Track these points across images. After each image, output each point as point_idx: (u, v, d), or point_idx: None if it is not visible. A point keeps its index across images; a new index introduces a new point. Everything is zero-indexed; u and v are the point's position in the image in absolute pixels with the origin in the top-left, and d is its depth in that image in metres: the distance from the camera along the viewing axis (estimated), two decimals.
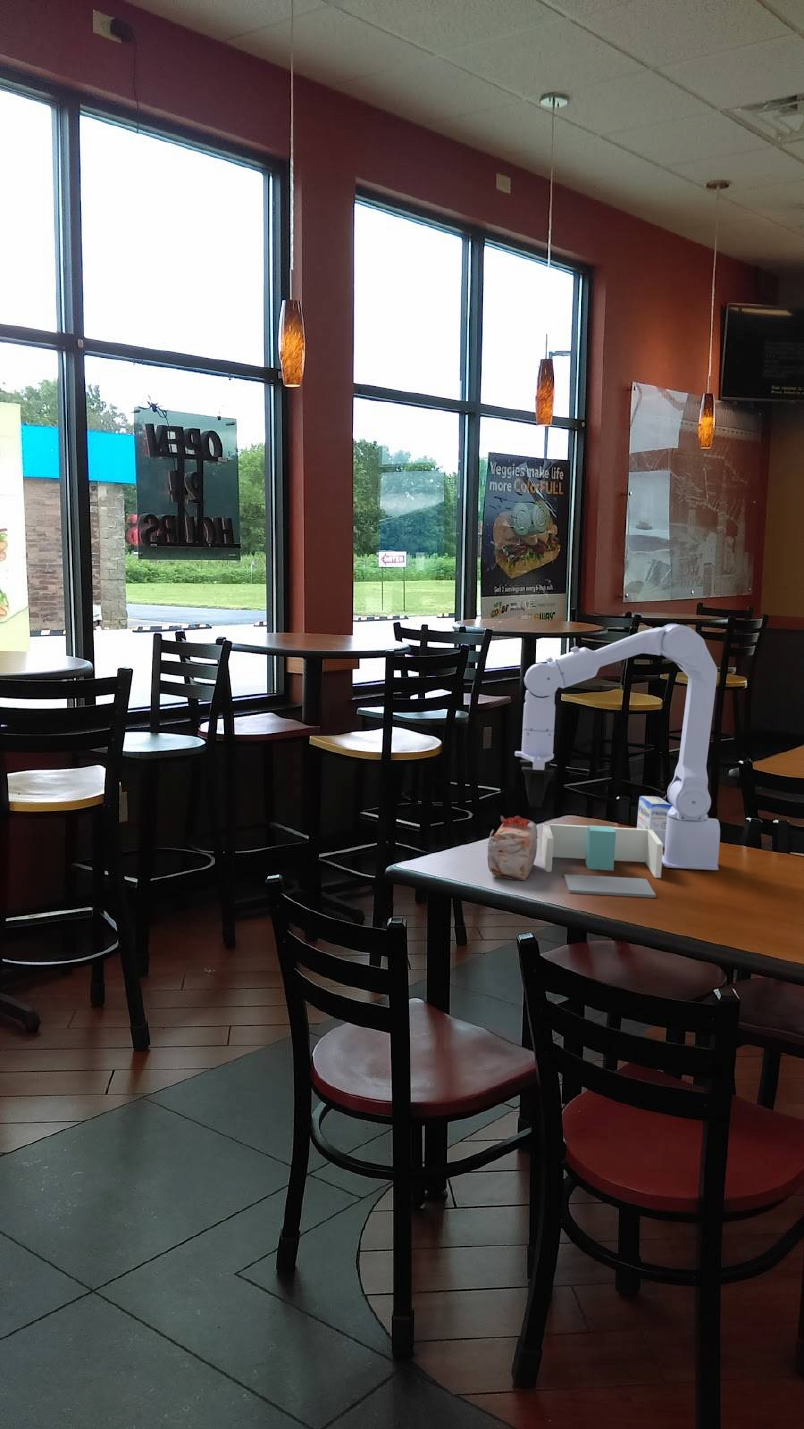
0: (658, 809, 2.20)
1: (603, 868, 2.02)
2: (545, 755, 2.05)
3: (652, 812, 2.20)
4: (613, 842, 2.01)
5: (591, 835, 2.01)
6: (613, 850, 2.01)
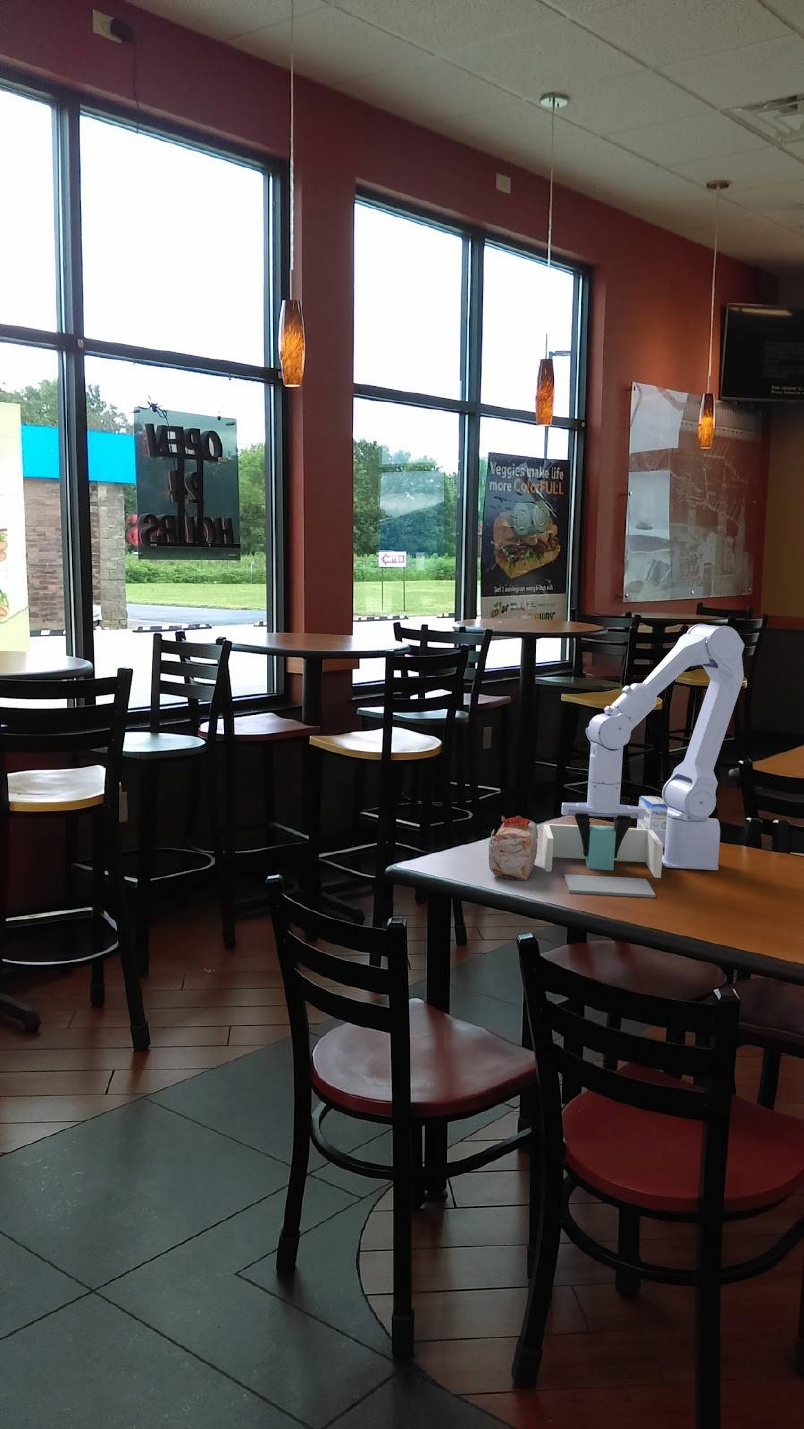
0: (658, 809, 2.20)
1: (603, 868, 2.02)
2: (589, 806, 2.01)
3: (652, 812, 2.20)
4: (613, 842, 2.01)
5: (591, 835, 2.01)
6: (613, 850, 2.01)
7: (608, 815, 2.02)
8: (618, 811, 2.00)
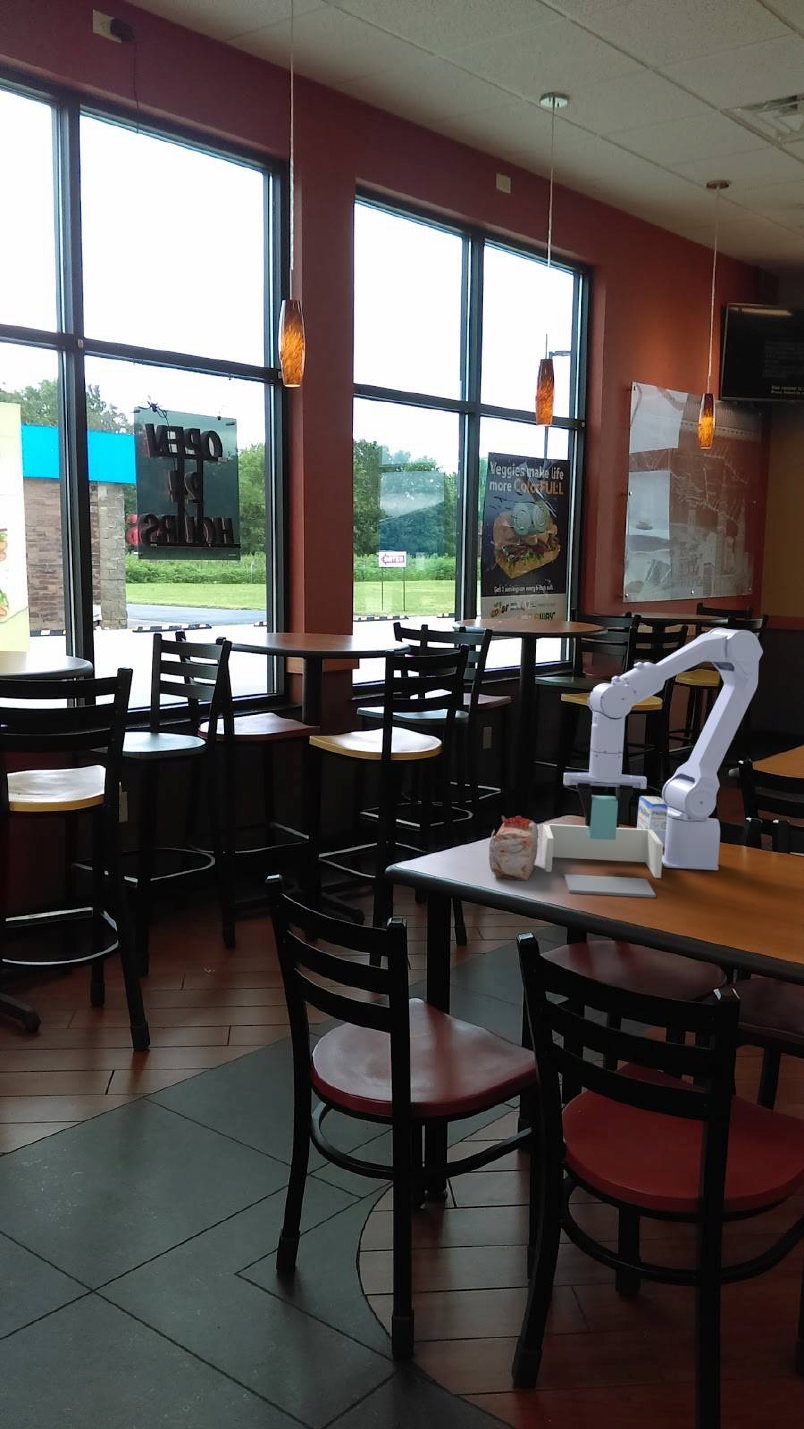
0: (658, 809, 2.20)
1: (605, 838, 2.01)
2: (591, 776, 2.01)
3: (652, 812, 2.20)
4: (615, 811, 2.00)
5: (593, 804, 2.00)
6: (615, 819, 2.00)
7: (610, 785, 2.02)
8: (620, 780, 1.99)
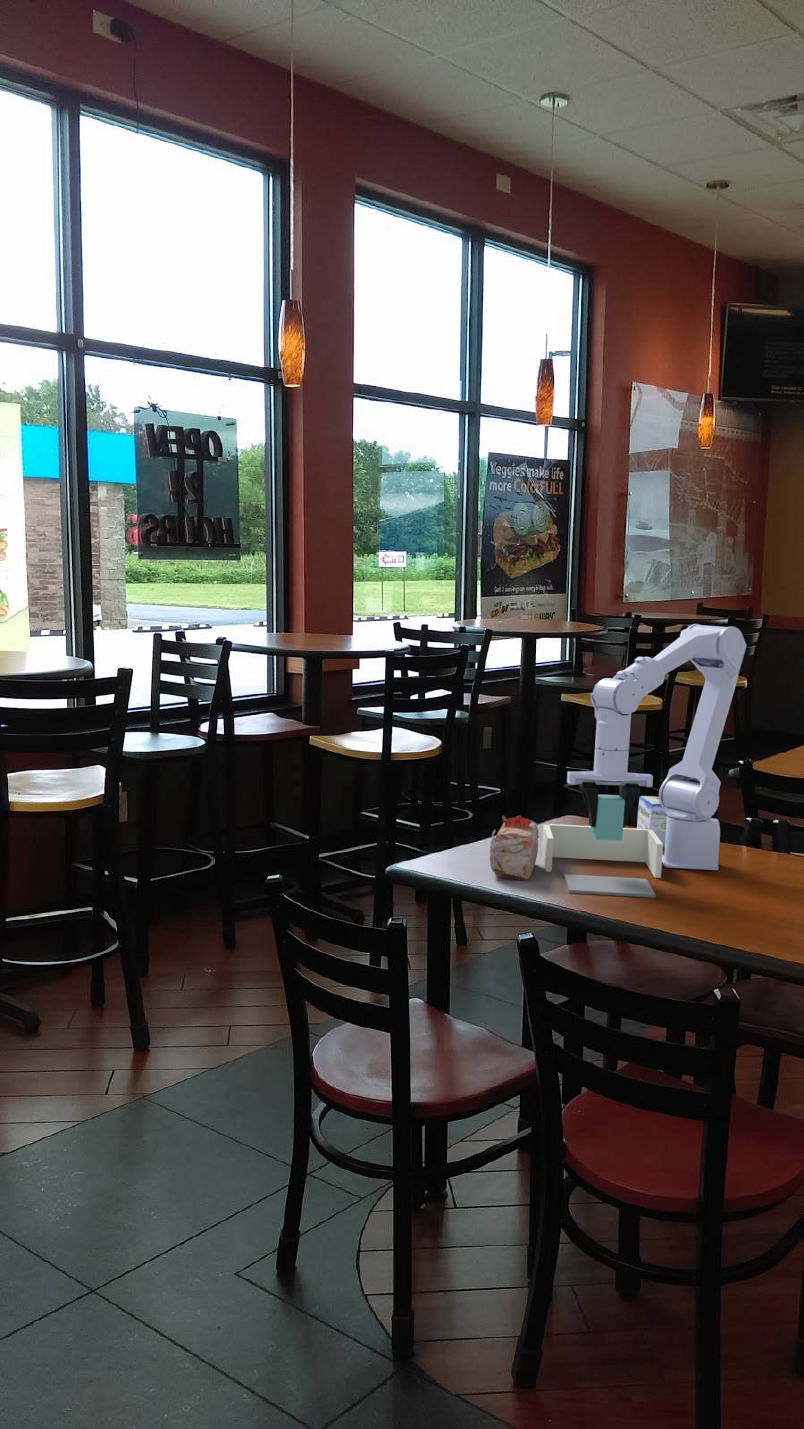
0: (658, 809, 2.20)
1: (612, 838, 1.94)
2: (597, 774, 1.93)
3: (652, 812, 2.20)
4: (622, 811, 1.93)
5: (599, 804, 1.93)
6: (622, 819, 1.93)
7: (615, 783, 1.95)
8: (627, 779, 1.93)
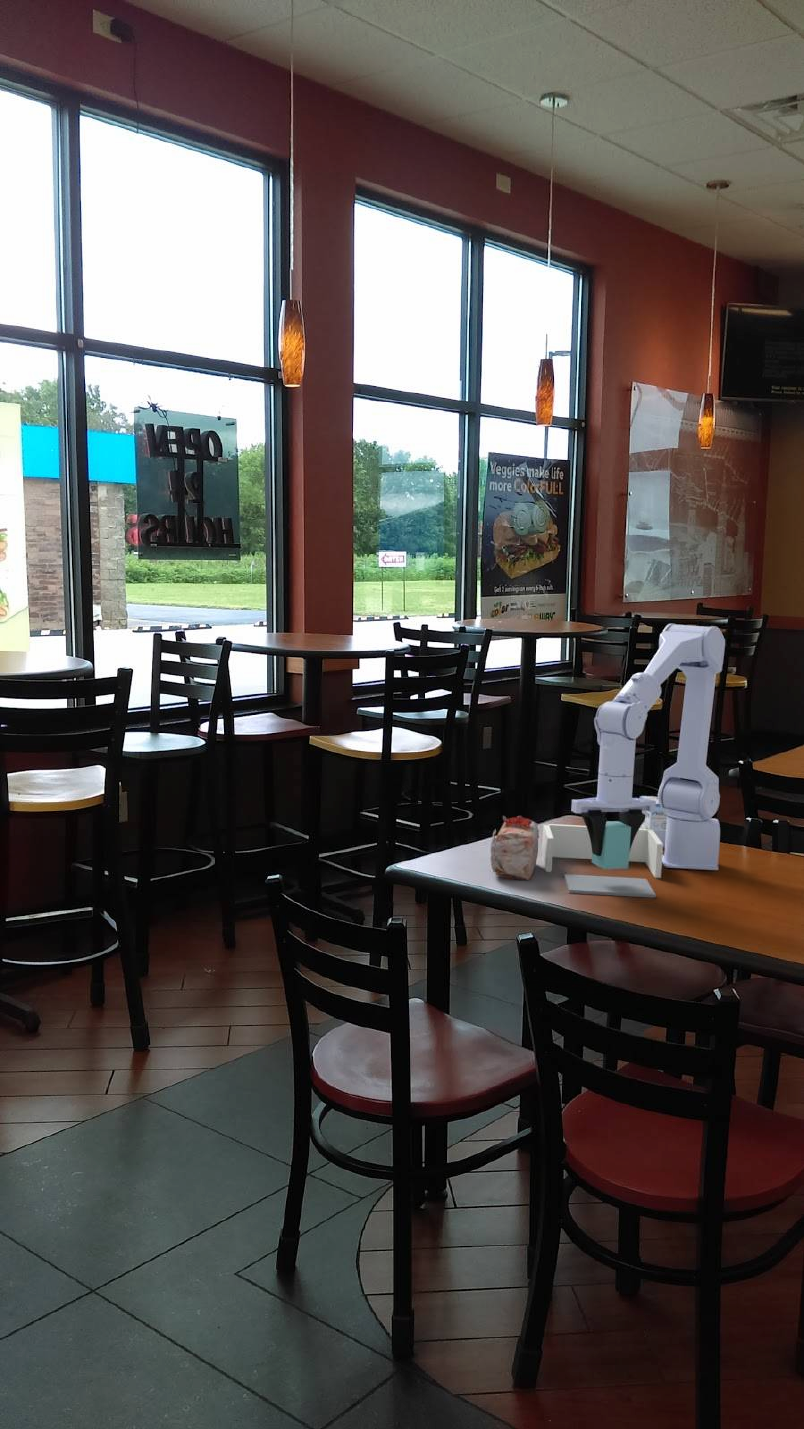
0: (658, 809, 2.20)
1: (618, 867, 1.88)
2: (603, 801, 1.86)
3: (652, 812, 2.20)
4: (628, 838, 1.87)
5: (607, 832, 1.86)
6: (628, 847, 1.88)
7: (619, 810, 1.88)
8: (633, 805, 1.87)
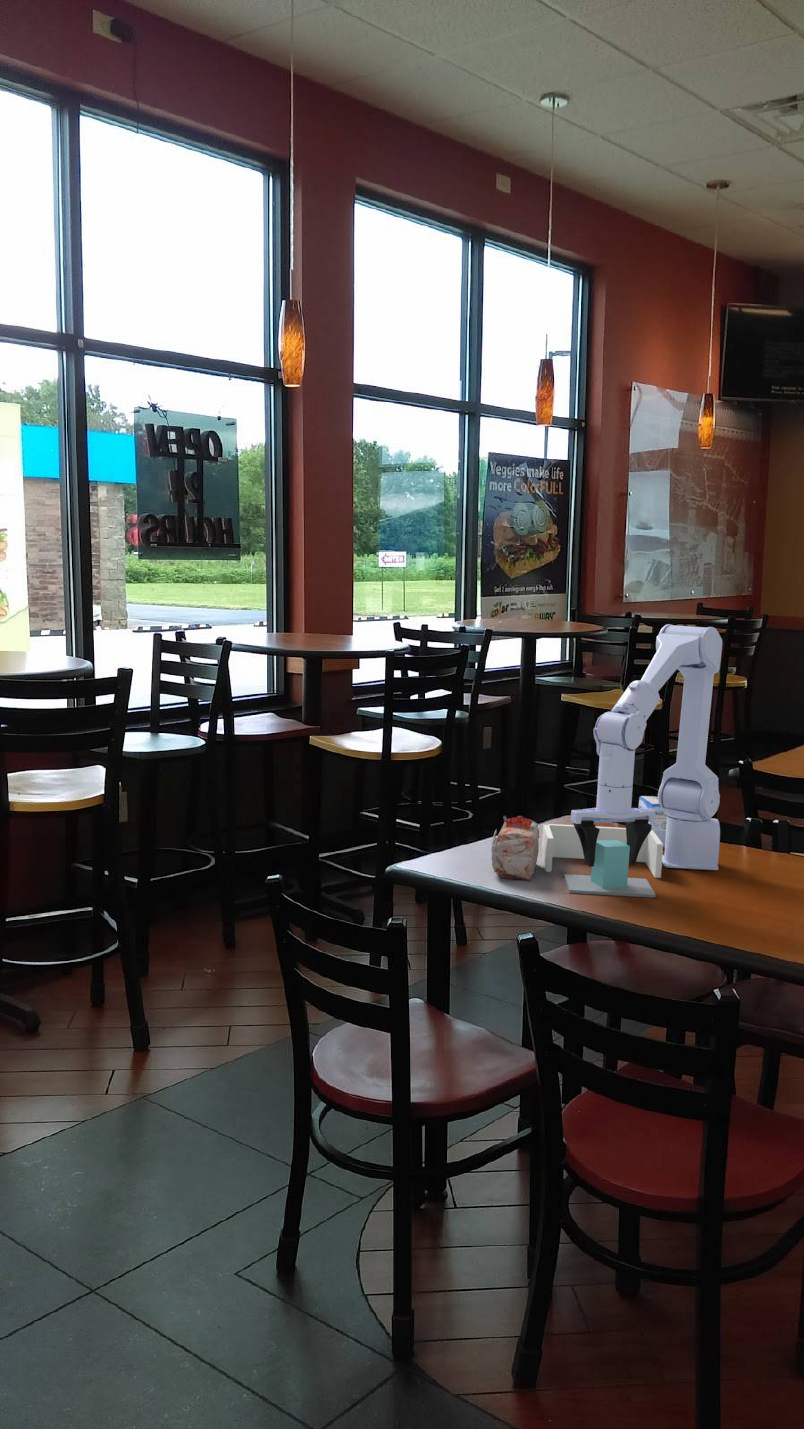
0: (658, 809, 2.20)
1: (617, 886, 1.88)
2: (603, 812, 1.86)
3: None
4: (627, 857, 1.88)
5: (606, 852, 1.86)
6: (627, 866, 1.88)
7: (619, 820, 1.89)
8: (633, 815, 1.87)
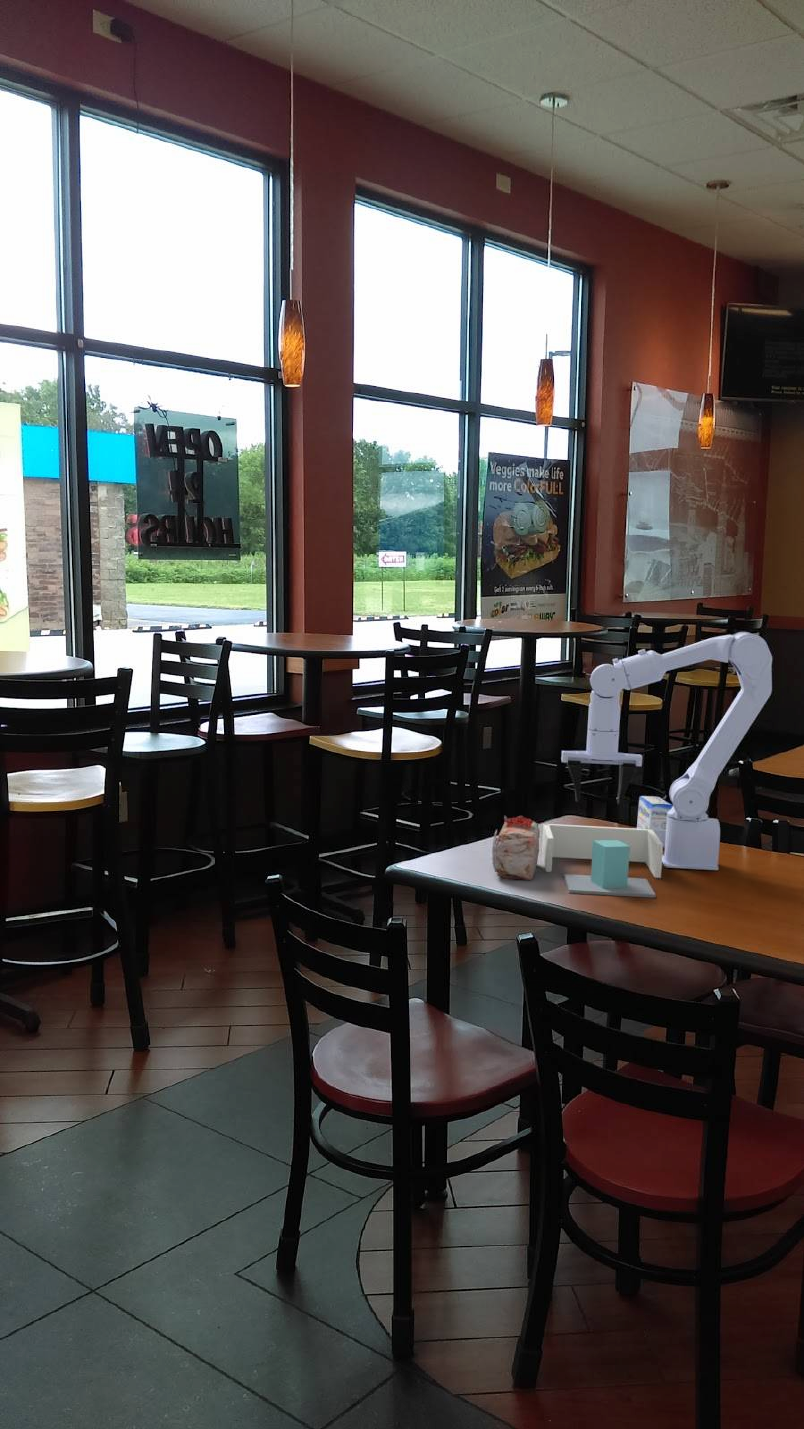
0: (658, 809, 2.20)
1: (617, 886, 1.88)
2: (588, 753, 2.07)
3: (652, 812, 2.20)
4: (627, 857, 1.88)
5: (606, 852, 1.86)
6: (627, 866, 1.88)
7: (607, 762, 2.08)
8: (616, 758, 2.06)
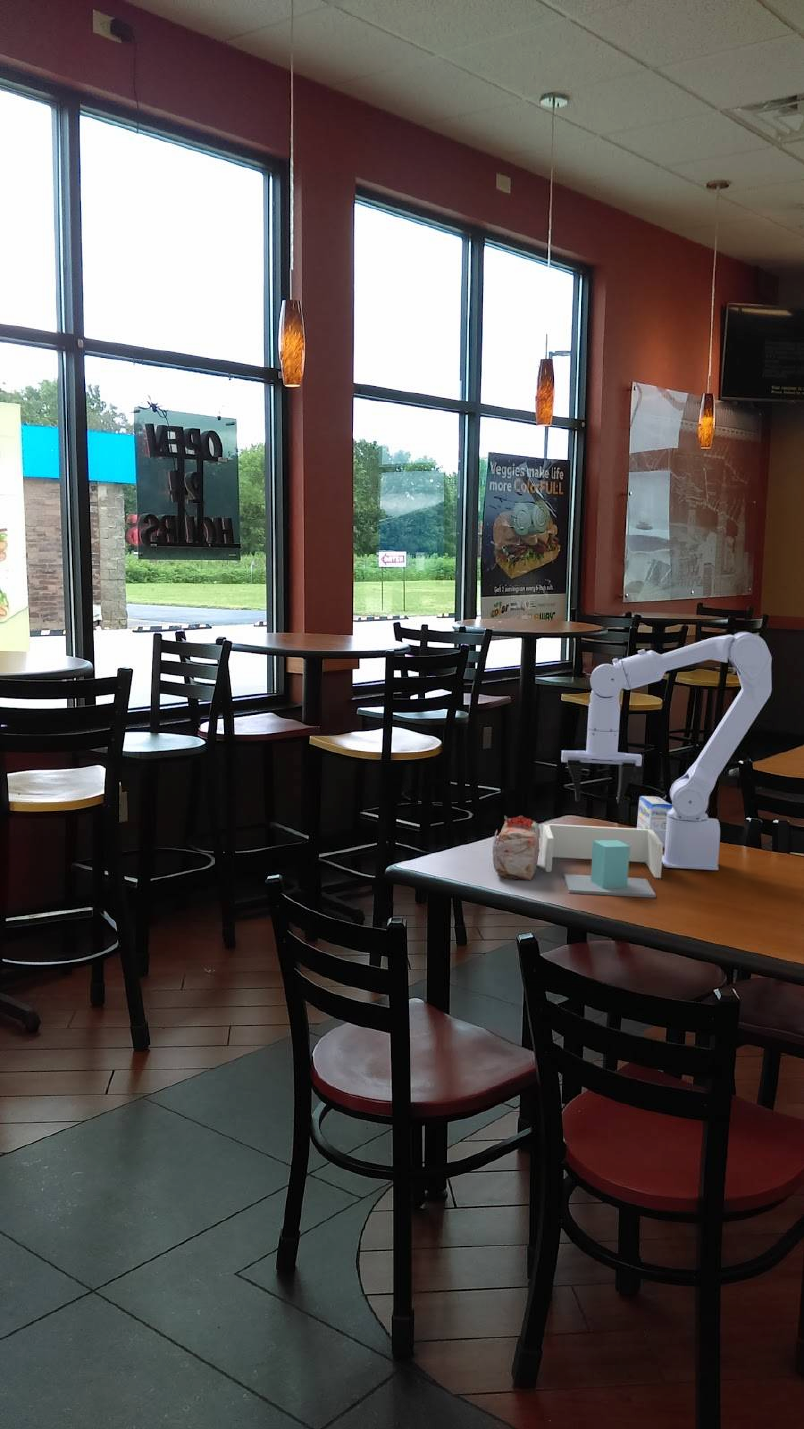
0: (658, 809, 2.20)
1: (617, 886, 1.88)
2: (588, 753, 2.07)
3: (652, 812, 2.20)
4: (627, 857, 1.88)
5: (606, 852, 1.86)
6: (627, 866, 1.88)
7: (606, 762, 2.08)
8: (616, 758, 2.06)
